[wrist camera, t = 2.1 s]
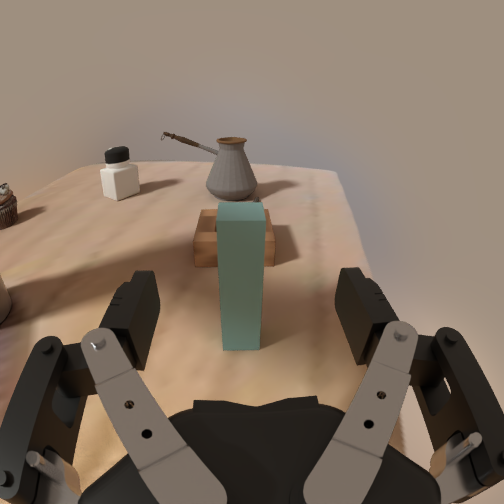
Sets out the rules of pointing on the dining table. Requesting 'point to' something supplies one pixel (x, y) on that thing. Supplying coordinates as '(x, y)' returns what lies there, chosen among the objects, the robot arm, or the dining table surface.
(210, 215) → the brown square slotted piece
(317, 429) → the robot arm
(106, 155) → the medicine bottle
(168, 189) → the dining table surface
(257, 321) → the peg
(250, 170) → the coffee pot
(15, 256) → the dining table surface
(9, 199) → the cupcake
